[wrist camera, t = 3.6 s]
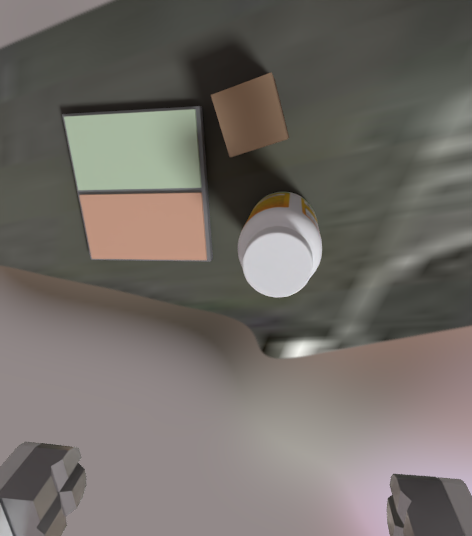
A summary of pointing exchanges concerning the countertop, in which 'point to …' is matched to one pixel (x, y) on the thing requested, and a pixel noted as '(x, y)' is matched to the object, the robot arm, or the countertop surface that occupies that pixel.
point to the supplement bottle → (280, 244)
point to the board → (142, 183)
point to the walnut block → (250, 115)
